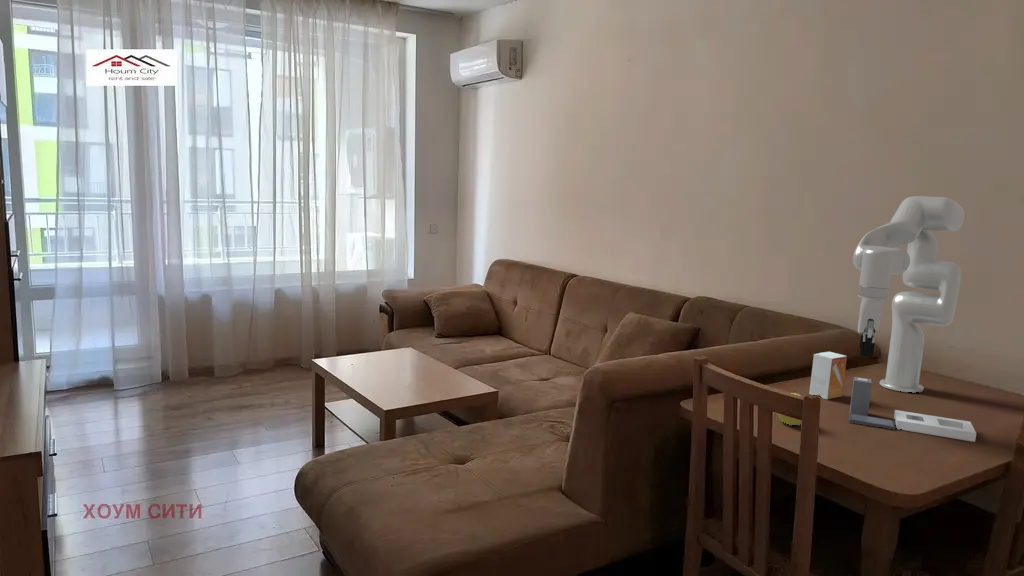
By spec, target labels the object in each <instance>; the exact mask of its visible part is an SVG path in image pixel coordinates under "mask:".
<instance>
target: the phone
mask: <svg viewBox="0 0 1024 576" xmlns="http://www.w3.org/2000/svg"><path fill="white" fill-rule="evenodd" d="M848 423H849V424H854V423H855V425H860V424H862V425H861V426H866V425H870V426H869V427H872V426H876V427H875V428H878V427H883V428H882V429H884V428H888V429H887V430H890V429H893V430H892V431H894V430H895V429H896V426H895V421H894V419H893V420H892V419H887V418H880V417H874V416H869V415H868V416H863V415H856V414H850V412H849V413H848Z"/></svg>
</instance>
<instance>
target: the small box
mask: <svg viewBox="0 0 1024 576" xmlns="http://www.w3.org/2000/svg"><path fill="white" fill-rule="evenodd" d="M847 359H848V357H847V355H844V354H840V353H837V352H832V351H824V352H819V353H813V360H812V368H811V377H810V385H809V395H811V396H813V395H820V396H821V397H822V398H821V399H824V400H830V399H835V398H841V397H843V391H844V382H845V376H846V375H845V373H846V367H847Z"/></svg>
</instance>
